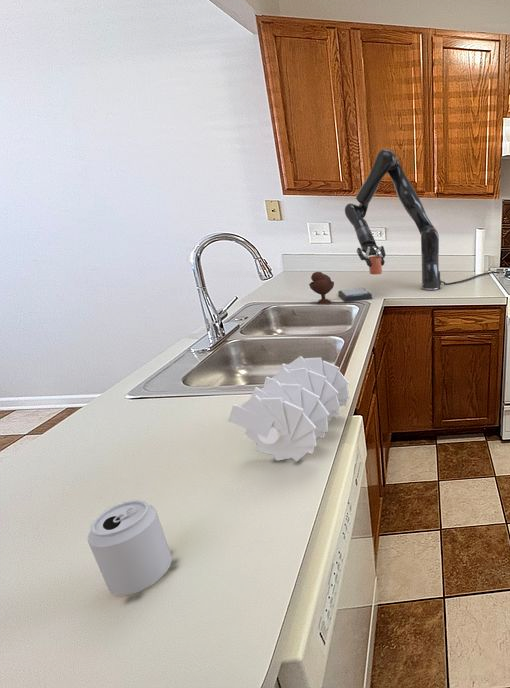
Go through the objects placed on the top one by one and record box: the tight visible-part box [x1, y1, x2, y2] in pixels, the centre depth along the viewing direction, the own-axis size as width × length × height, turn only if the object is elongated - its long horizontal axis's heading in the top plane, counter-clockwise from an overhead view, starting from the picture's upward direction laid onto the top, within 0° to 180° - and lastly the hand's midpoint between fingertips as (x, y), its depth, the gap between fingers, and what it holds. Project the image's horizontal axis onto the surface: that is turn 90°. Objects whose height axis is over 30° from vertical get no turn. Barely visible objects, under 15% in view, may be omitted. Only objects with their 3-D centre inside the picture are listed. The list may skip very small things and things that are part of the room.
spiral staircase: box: [227, 355, 350, 462], centre depth 90 cm, size 18×18×25 cm
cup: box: [368, 255, 383, 276], centre depth 197 cm, size 6×6×8 cm
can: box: [87, 499, 173, 597], centre depth 58 cm, size 8×8×12 cm
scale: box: [337, 287, 373, 303], centre depth 199 cm, size 13×13×3 cm
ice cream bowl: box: [308, 271, 335, 305], centre depth 188 cm, size 11×11×15 cm
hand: (376, 265), depth 195 cm, fingers closed on cup, 6 cm apart
